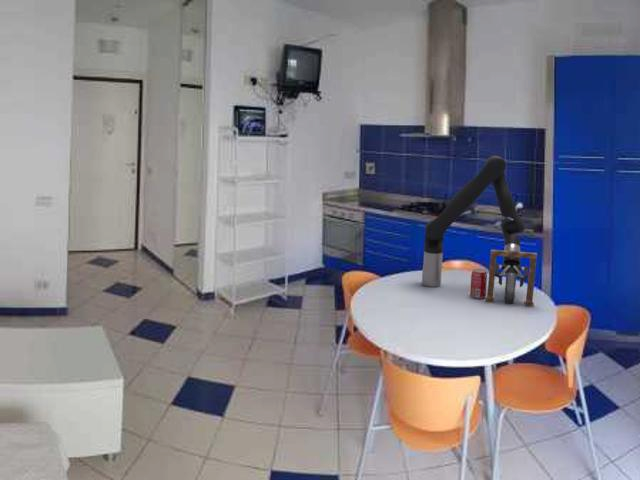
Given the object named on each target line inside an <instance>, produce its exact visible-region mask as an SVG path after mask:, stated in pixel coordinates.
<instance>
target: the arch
mask: <svg viewBox="0 0 640 480" xmlns="http://www.w3.org/2000/svg"><path fill="white" fill-rule="evenodd" d="M497 256H498V257H503V256H507V257H520V259H524V258H526V259H529V265H528V266H529V267H528V278H527V287H526V298H525V300H524V301H523V305H525V306H524V307H531V306H534V307H535V304H534V301H533V298H534V288H535V279H536V269H537V258H538V253H537V252H528V251H527V252H526V251H520V252H517V251H504V249H503V250H501V249H490V257H489V259H490V261H489V271H488V272H489V273H488V280H487V282H488V285H487V293H486V295H487V296H485V297H484V302H485V303H495V297H494V290H495V279H496V277H495V270H496V264H497Z"/></svg>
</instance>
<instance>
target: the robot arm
mask: <svg viewBox="0 0 640 480" xmlns="http://www.w3.org/2000/svg"><path fill="white" fill-rule="evenodd" d="M506 168H507V162H506V160H505V159H504V158H503V157H501V156H499V155H491V156H489V157H488V158H487V159H486V160H485V163H484V166H483V168H481V170H480V171H479V173H478V174H477V175H476V176H475V177H473V178H472V179H471V180H469V181H468V182H467V183H466V184H464V185H463V186H462V187H461V188H459V190H458V191H457V192H456V193H455V194H454V195H453V197H451V199H450V201H449V202H448V203H447V205H446V206H445V208H444V210H442V211H441V213H440V214H438V216H436V217H435V218H434V219H431V220H429V221H428V222H427V223H426V225H425V230H424V246H423V247H424V248H423V266H422V275H421V276H422V277H421V285H422V286H427V287H429V288H430V287H433V288H435V287H440V286H441V284H442V272H443V271H442V269H443V256H444V254H443V253H444V252H443V251H444V235H445V233H446V232H447V230H448V229H449V228H450V226H452V224H453V223H454V222H455V221H457V220H458V219H459V217H461V216H462V215H463V214H464V213H465V212H466V211H467V210H468V209H469V208H470V207H471V206H472V205H473V204H474V203H475V202H476V201H477V200H478V199H479V197H480V196H481V195H482V194H483V193H484V191H485V190H486V189H487V188H488V187H489V186H490V185H491V184H492V185H493V188H494V189H493V190H494V192H495V196H496V200H497V204H498V207H499V211H500V215H501V216H502V217H504V218H511V220H506V221H504V222H503V223H502V224H501V231H502V234H503V238H504V249H503V251H517V252H521V238H520V236H519V235H518V234H521V233H523V232H524V231H525V230H526V228H525V223H524V221H523V219H522V217H520V215H519V213H518V211H517V208H516V205H515V202H514V199H513V195H512V193H511V191H510V188H509V185H508V183H507V180H506V176H505V175H506V174H505V171H506ZM502 258H503V259H502V264H499V263H497V262H496V268H495V278H497V279H498V284H499V285H500V286H502V285H503V277H506V273H507V272H514V273H517V276H516V278H519V288H522V287H523V286H524V280H525V281H526V280H527V281H528V275H529V267H528V265H524V266H521V258H520V257H507V256H502ZM501 269H502V271H500V273H499V270H501ZM521 270H522V272H523V273H524V274H523V273H522V272H521Z"/></svg>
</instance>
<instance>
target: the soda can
mask: <svg viewBox="0 0 640 480" xmlns="http://www.w3.org/2000/svg"><path fill="white" fill-rule="evenodd" d="M487 282H488V274H487V270H485V269H481V268H475V269H472V272H471V274H470V290H469V291H470V293H469V296H470V297H472V298H473V299H477V300H482V299H485V297H487V296H486V295H487V286H488V285H487Z"/></svg>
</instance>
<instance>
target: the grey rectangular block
mask: <svg viewBox="0 0 640 480" xmlns="http://www.w3.org/2000/svg"><path fill="white" fill-rule="evenodd" d="M516 284H517V273H514V272H507V273H506V275H505V285H504V287H505V288H504V297H503V303H504V304H507V305H514V304H515V298H516V297H515V295H516V286H517V285H516Z"/></svg>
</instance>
